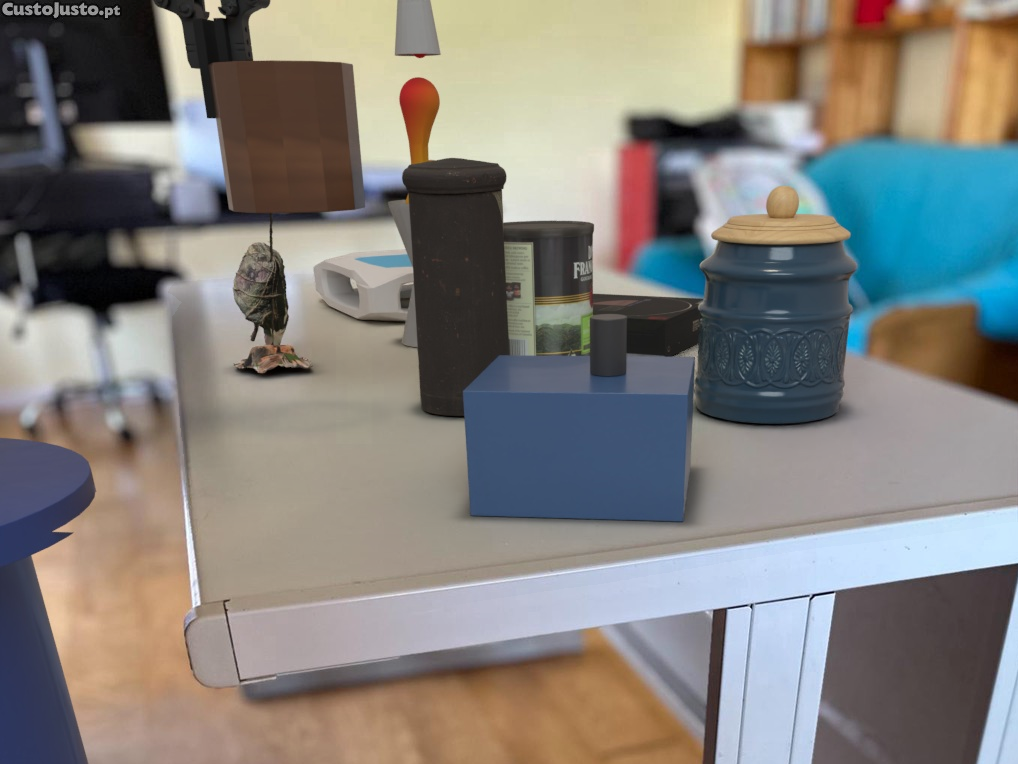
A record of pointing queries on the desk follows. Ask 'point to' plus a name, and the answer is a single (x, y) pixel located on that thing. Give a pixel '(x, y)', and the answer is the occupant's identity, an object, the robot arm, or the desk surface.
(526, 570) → the desk surface
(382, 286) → the white boxy piece
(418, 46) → the lava lamp
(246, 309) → the plant with pod
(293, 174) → the brown pot
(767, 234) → the canister
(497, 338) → the container
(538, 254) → the coffee can
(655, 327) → the portable cd player
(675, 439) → the peg box
